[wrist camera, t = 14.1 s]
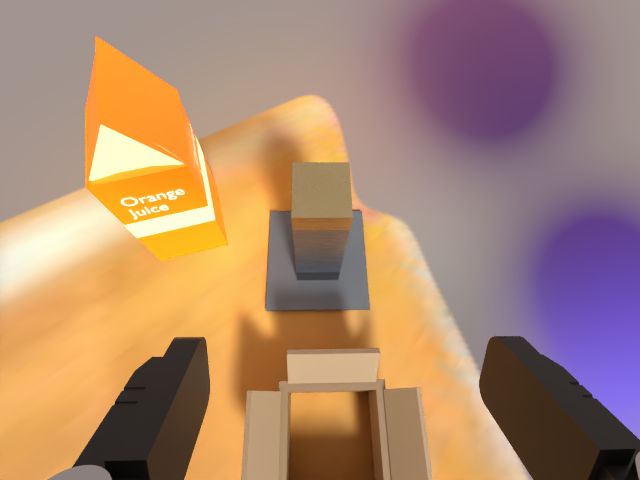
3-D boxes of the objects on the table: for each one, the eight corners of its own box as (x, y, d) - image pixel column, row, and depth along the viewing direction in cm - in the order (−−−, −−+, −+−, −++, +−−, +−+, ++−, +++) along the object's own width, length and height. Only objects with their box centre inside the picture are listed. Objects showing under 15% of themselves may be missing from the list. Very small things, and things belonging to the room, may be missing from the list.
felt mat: (266, 310, 36) (265, 310, 36) (270, 212, 42) (270, 211, 41) (369, 309, 37) (369, 308, 36) (361, 212, 42) (361, 210, 42)
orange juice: (160, 261, 39) (29, 136, 21) (153, 197, 42) (37, 42, 24) (229, 244, 40) (163, 111, 22) (217, 183, 43) (152, 25, 25)
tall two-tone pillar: (297, 280, 38) (291, 217, 25) (297, 239, 40) (292, 162, 27) (338, 280, 38) (352, 217, 25) (336, 239, 40) (349, 162, 27)
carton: (251, 540, 28) (233, 582, 22) (261, 360, 34) (249, 349, 28) (414, 534, 29) (446, 574, 22) (395, 358, 35) (416, 347, 28)
